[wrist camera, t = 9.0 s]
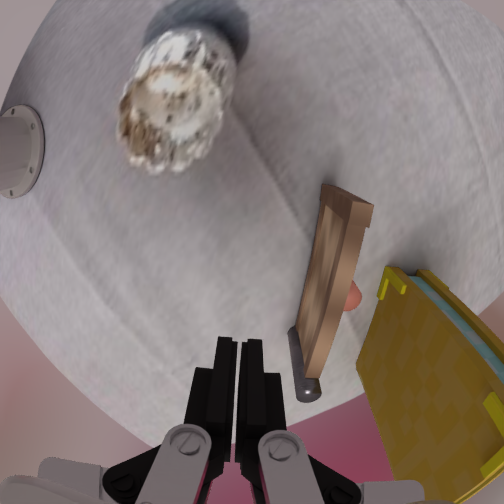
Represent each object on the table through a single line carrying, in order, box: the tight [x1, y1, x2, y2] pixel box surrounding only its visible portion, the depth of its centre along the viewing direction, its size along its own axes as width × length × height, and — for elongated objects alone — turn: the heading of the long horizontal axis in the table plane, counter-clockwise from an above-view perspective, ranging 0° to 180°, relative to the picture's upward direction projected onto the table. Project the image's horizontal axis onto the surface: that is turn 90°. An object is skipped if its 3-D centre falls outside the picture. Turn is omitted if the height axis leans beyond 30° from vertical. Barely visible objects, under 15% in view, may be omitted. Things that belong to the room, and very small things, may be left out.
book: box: [356, 266, 504, 504], centre depth 21 cm, size 17×7×25 cm, turn 175°
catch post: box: [343, 280, 362, 311], centre depth 26 cm, size 2×2×7 cm
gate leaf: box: [295, 184, 374, 378], centre depth 25 cm, size 16×2×9 cm, turn 173°
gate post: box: [288, 326, 322, 403], centre depth 28 cm, size 2×2×10 cm
